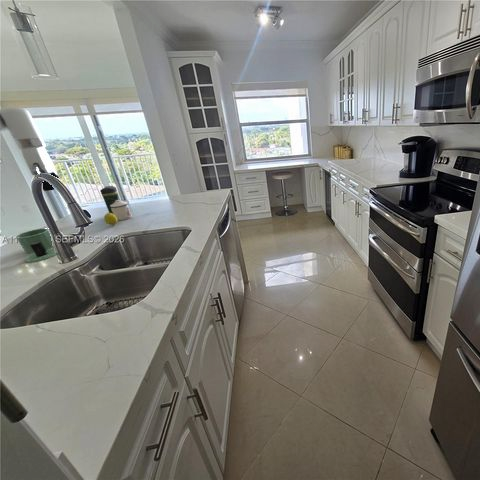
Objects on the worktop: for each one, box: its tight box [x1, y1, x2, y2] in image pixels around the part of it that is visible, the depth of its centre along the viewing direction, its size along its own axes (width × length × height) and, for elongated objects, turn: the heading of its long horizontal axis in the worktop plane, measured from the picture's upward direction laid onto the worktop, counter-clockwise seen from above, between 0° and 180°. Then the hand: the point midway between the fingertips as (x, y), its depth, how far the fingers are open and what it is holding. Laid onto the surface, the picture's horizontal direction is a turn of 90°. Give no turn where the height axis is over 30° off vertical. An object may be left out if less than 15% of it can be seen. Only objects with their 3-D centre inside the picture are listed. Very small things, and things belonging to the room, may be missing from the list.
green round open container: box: [15, 227, 54, 254], centre depth 123 cm, size 11×11×8 cm
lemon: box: [103, 212, 118, 227], centre depth 147 cm, size 6×6×8 cm
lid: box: [23, 241, 57, 263], centre depth 115 cm, size 12×12×7 cm
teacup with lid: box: [110, 200, 133, 221], centre depth 159 cm, size 12×9×12 cm
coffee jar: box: [99, 185, 122, 214], centre depth 164 cm, size 10×8×19 cm
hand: (53, 187), depth 106 cm, fingers open, 9 cm apart
